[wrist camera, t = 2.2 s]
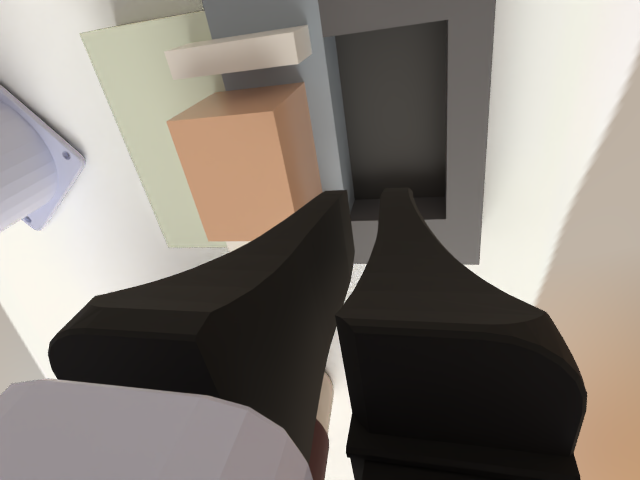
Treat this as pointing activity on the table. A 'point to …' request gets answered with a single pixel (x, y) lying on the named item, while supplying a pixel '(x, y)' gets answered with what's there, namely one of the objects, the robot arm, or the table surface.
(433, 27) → the gray recessed tray
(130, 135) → the pad
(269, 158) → the terracotta block
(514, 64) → the table surface
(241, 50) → the channel walls
